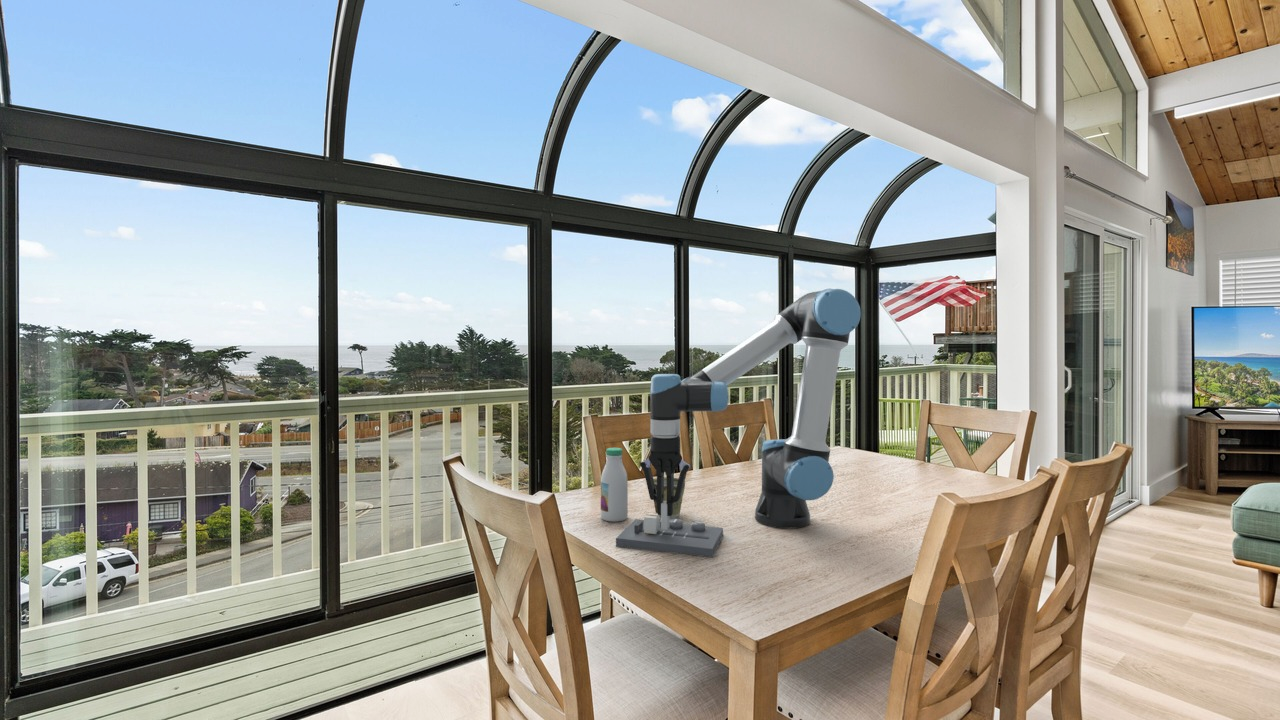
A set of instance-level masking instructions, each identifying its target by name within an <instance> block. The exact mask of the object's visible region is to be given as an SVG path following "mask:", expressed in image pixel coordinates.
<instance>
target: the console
mask: <svg viewBox="0 0 1280 720" xmlns="http://www.w3.org/2000/svg"><path fill="white" fill-rule="evenodd" d="M723 537H724V528H723V527H719V526H710V525H706V522H705V521H702V520H694V521H693V520H692V522H691V523H690V524H688V523H684V522H683V520H682V519H680V518H671V519H669V528H668V529H667V530H662V529H661V521H660V529H659V531H658V532H657V533H656V534H650V533H644V519H638V518H635V519H634V520H633V521H632V522H630V524H629V525H628V526H627V527H625V529H624V530H622V532H621V533H620V534H618V536H617V537H615V546H616V547H621V548H629V549H638V550H646V551H647V550H648V551H655V552H663V553H673V554H681V555H690V556H696V557H697V556H699V557H706V558H713V557H714V555H715V553H716V551H717V549H718V546H719V544H720V542H721V540H722V538H723Z"/></svg>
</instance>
